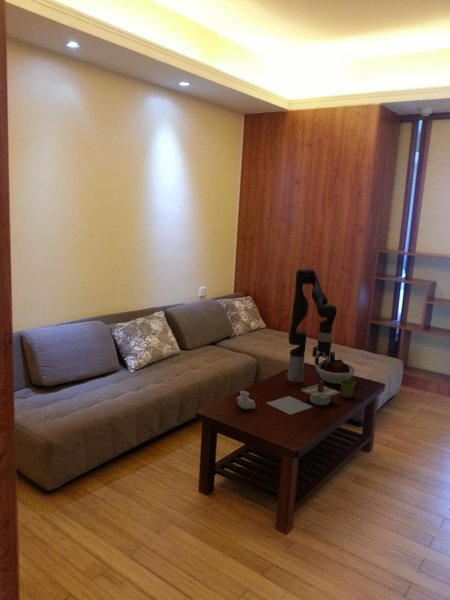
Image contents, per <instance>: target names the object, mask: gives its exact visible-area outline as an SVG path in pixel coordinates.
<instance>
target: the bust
mask: <svg viewBox="0 0 450 600" xmlns="http://www.w3.org/2000/svg"><path fill="white" fill-rule="evenodd" d="M239 395H240V396H237V398H236V402H237V404H238V407H240V408H241V409H242V410H249V409H252V410H253V409H255V408H256V403H255V401H254V400H253V399H250V398H249V395H250V393H249V392H247V391H246V390H240V392H239Z"/></svg>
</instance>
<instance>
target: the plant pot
mask: <svg viewBox="0 0 450 600" xmlns="http://www.w3.org/2000/svg"><path fill="white" fill-rule="evenodd" d="M339 385H340V394H341V397H343V398H346V399H347V398H352V397H353V393H354V387H355V385H356V381H353V380H350V379H349V380H341V381H340V384H339Z"/></svg>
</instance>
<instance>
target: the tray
mask: <svg viewBox="0 0 450 600" xmlns="http://www.w3.org/2000/svg"><path fill="white" fill-rule="evenodd" d="M266 404H268V405H269V406H271V407H273V408H275V409H277V410H279V411H281V412H283V413H286V414H288V415H293V414H296V413H300V412H302V411H305V410H308V409H311V408H314V406H313V405H311V404H309V403H306V402H304V401H302V400H299V399H297V398H295V397H293V396H290V395H288V396H285V397H281V398H278V399H275V400H272V401H269V402H266Z"/></svg>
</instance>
